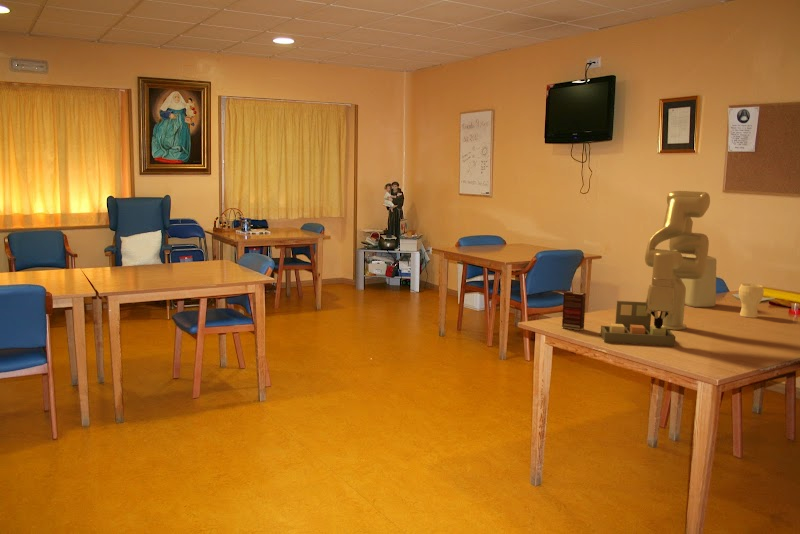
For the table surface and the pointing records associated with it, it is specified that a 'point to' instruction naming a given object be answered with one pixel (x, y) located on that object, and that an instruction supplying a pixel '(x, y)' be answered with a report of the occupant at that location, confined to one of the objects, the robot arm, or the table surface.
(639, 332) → the terracotta key
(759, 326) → the table surface
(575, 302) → the supplement box
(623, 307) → the card
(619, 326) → the tan square block
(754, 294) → the cup
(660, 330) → the olive square block
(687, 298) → the beige rounded canister
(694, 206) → the robot arm
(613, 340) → the key pad frame
